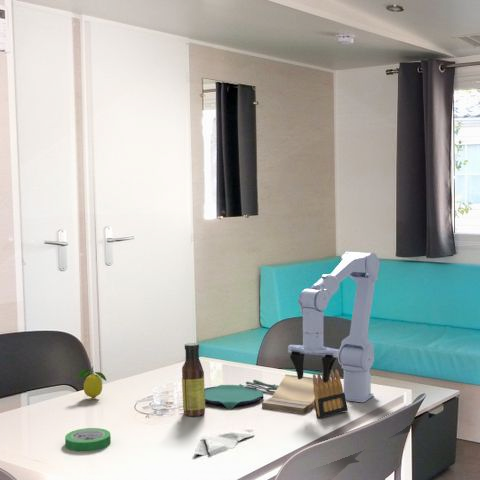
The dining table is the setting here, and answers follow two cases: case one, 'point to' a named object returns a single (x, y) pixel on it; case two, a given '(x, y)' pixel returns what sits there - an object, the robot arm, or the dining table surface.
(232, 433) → the cloth
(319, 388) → the ammunition clip
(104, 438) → the tape roll
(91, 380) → the lemon
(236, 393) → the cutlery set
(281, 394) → the plank
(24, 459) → the dining table surface
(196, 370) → the sauce bottle
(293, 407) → the floor row
